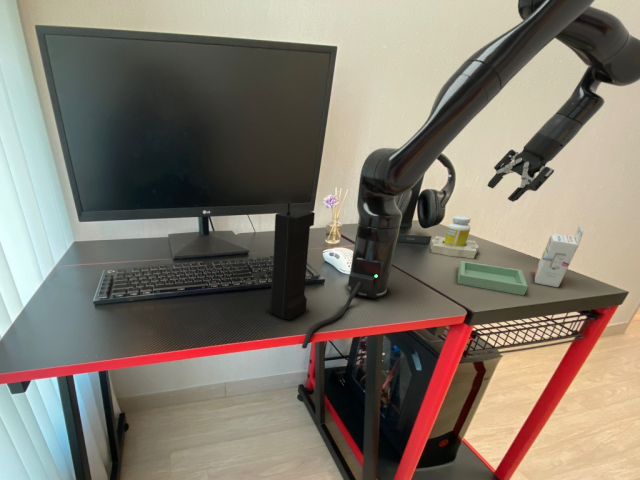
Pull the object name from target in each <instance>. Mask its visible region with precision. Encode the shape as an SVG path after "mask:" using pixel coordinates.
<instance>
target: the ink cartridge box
mask: <svg viewBox="0 0 640 480" xmlns="http://www.w3.org/2000/svg"><path fill="white" fill-rule="evenodd" d="M583 235H584V230H583V227H582V226H581V224H578V225H577V229H576V232H575V235H571V234H562V233H554V232H551V234H550V235H549V238H548V241H547V243H546V245H545V248H544V250H543V252H542V254H541V257H540V259H539V261H538V263H537V266H536V267H535V270H534V274H533V275H534V283H535V284H538V285H544V286H548V287H555V288H559V287H560V285H561V283H562V281H563V279H564V276H565V274H566V272H567V271H568V268H569V266H570V264H571V262H572V260H573V259H574V256H575V254H576V252H577V250H578V248H579V245H580V244H581V240H582V237H583Z"/></svg>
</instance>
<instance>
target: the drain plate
mask: <svg viewBox="0 0 640 480" xmlns="http://www.w3.org/2000/svg"><path fill="white" fill-rule="evenodd" d="M445 237H446V236H439V235H438V236H437V235H435V236H434V238H432V240H431V243H430V247H429V249H430V250H431V251H430V253H432V254H437V255H439V254H440V255H444V256H449V257H456V258H467V259H475V256H476V255H477V252H478V251H479V244H477V243H476V241H475V240H470V239H467V241H466V244H465V246H463V247H459V246H451V245H447V244H444V240H445Z"/></svg>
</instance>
